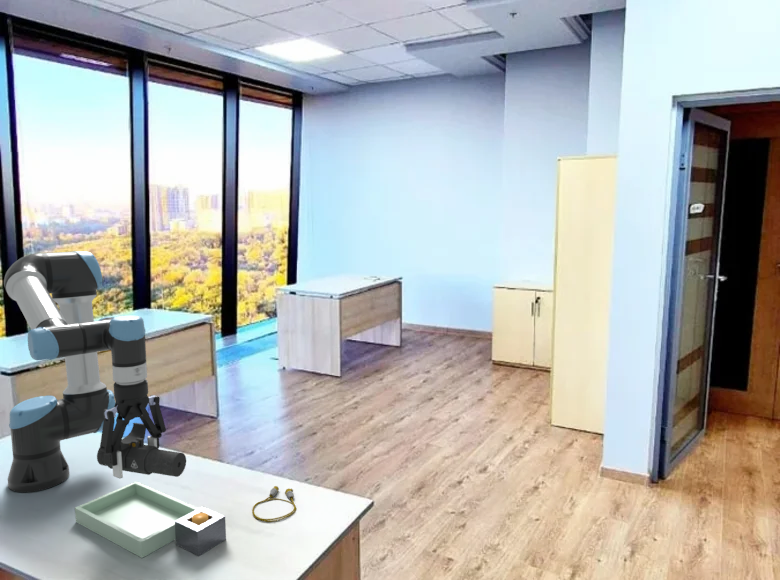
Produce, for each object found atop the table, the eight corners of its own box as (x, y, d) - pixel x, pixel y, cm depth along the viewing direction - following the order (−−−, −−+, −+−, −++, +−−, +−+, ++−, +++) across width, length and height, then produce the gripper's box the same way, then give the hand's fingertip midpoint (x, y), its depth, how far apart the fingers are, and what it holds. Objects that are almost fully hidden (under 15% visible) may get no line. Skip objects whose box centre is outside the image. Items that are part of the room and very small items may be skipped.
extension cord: (313, 499, 161) (313, 493, 160) (277, 528, 147) (277, 520, 146) (277, 489, 166) (276, 483, 166) (239, 516, 152) (238, 508, 152)
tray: (75, 522, 148) (74, 507, 147) (137, 494, 162) (136, 481, 161) (142, 558, 133) (141, 542, 133) (203, 524, 147) (202, 509, 147)
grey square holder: (175, 544, 138) (174, 521, 137) (203, 529, 145) (202, 506, 144) (198, 556, 134) (197, 531, 133) (226, 539, 141) (225, 516, 140)
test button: (189, 537, 139) (188, 517, 138) (202, 530, 142) (201, 511, 141) (199, 542, 137) (198, 522, 136) (212, 535, 140) (211, 515, 139)
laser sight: (166, 485, 138) (165, 444, 137) (87, 472, 144) (86, 432, 143) (191, 469, 147) (190, 430, 146) (117, 457, 154) (115, 420, 153)
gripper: (96, 395, 131) (103, 491, 134) (178, 372, 149) (182, 457, 152) (77, 389, 135) (84, 482, 138) (159, 367, 153) (164, 450, 156)
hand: (136, 469), depth 145 cm, fingers closed on laser sight, 9 cm apart
